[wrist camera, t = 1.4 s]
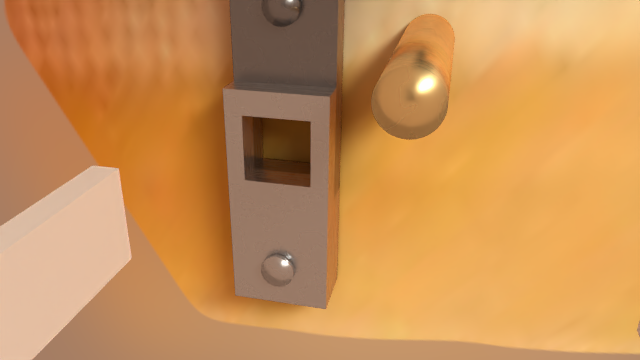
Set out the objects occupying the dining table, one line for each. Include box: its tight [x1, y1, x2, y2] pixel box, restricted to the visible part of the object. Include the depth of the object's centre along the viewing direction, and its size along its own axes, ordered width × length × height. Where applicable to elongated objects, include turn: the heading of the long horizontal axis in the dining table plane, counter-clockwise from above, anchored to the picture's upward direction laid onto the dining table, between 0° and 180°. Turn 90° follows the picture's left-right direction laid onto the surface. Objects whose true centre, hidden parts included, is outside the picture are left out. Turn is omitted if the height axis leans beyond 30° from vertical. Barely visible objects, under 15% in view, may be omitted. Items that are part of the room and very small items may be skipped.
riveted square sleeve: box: [223, 0, 345, 309], centre depth 39 cm, size 24×7×5 cm, turn 179°
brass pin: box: [371, 14, 455, 139], centre depth 30 cm, size 3×3×14 cm
